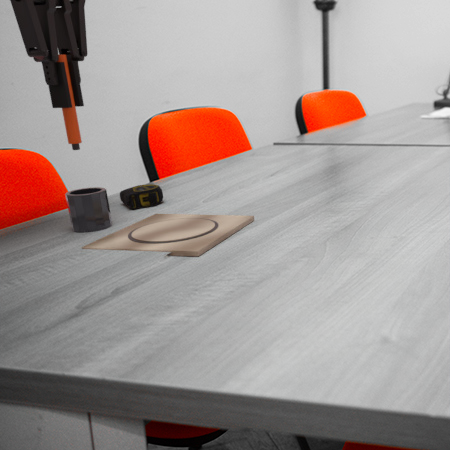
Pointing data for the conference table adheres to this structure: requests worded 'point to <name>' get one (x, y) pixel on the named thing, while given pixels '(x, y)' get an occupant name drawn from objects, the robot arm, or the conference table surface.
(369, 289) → the conference table surface
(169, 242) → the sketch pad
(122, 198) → the tape measure
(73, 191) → the pen pot
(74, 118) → the marker pen
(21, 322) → the conference table surface
